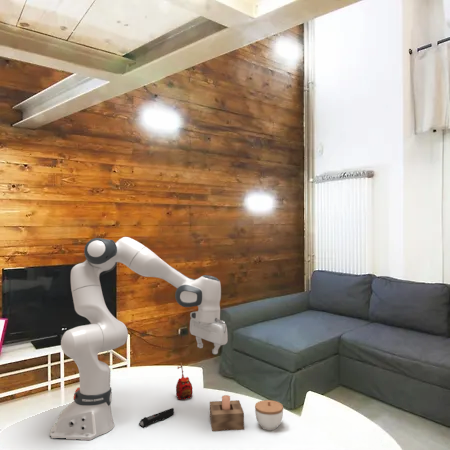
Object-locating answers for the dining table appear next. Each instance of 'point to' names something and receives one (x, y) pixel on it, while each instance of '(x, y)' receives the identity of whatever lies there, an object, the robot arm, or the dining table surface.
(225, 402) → the peg
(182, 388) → the red clay folk toy
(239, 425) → the socket block
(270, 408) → the lidded jar
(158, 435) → the dining table surface
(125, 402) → the dining table surface
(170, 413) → the electric trimmer
